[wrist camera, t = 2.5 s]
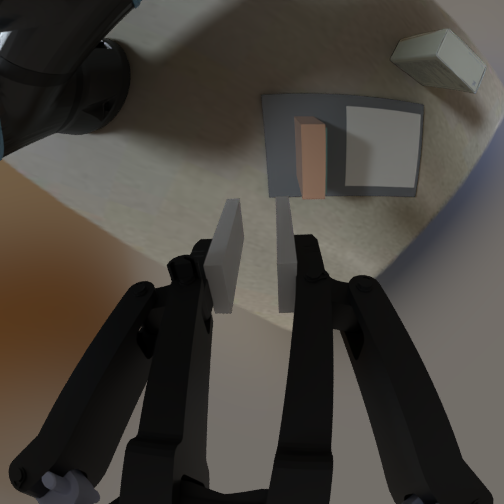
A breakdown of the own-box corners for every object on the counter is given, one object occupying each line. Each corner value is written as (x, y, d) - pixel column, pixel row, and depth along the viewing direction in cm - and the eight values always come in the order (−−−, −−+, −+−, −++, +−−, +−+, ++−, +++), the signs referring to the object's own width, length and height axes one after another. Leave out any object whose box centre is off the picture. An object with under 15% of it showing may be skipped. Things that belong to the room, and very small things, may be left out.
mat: (269, 195, 37) (269, 197, 37) (261, 94, 29) (261, 94, 29) (413, 195, 35) (415, 197, 34) (421, 104, 27) (423, 104, 27)
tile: (296, 175, 35) (302, 199, 28) (294, 116, 30) (300, 124, 24) (316, 175, 34) (327, 198, 28) (315, 116, 30) (327, 124, 23)
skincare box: (433, 64, 23) (488, 67, 13) (422, 87, 26) (477, 96, 16) (398, 37, 22) (448, 25, 12) (387, 60, 25) (435, 55, 15)
